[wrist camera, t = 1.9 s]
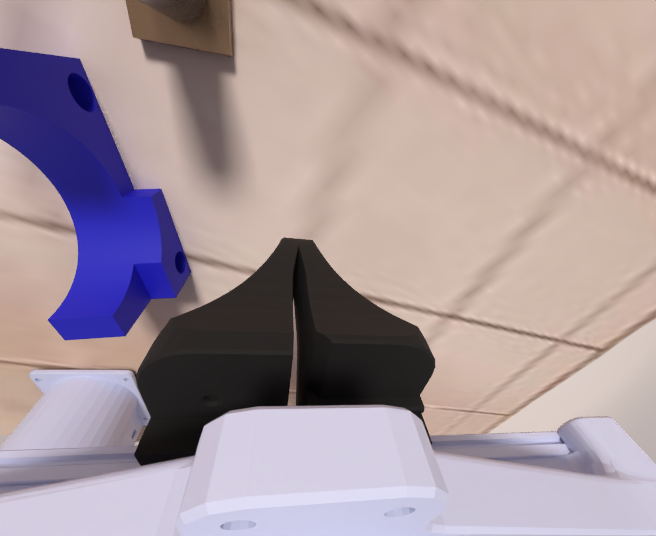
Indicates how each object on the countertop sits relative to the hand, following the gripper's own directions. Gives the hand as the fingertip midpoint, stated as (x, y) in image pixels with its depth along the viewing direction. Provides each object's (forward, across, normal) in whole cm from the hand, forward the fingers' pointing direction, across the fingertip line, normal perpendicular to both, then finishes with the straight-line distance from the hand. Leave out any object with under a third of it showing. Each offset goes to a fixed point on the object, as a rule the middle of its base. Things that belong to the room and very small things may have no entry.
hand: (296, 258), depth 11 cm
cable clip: (+7, +10, 0) cm, 12 cm away
